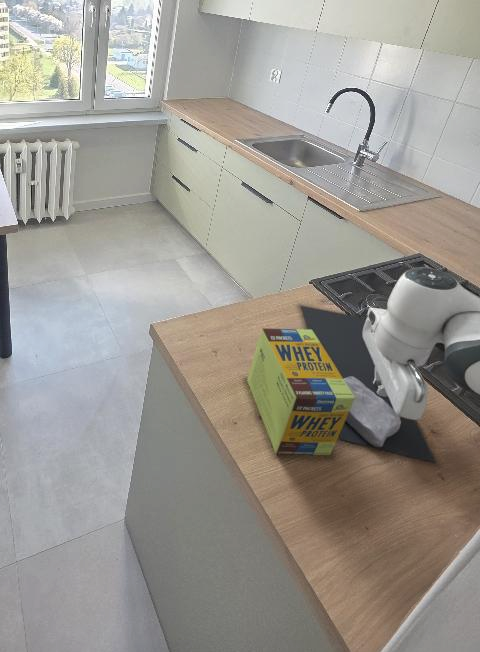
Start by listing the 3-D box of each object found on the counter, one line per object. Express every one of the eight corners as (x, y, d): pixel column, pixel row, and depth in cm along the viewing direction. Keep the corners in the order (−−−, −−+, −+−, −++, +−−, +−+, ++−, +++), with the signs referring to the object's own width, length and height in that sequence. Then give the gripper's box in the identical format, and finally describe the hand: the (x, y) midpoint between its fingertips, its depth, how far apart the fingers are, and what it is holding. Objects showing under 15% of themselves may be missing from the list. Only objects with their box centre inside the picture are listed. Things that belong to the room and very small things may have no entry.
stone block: (343, 386, 91) (316, 398, 86) (353, 369, 89) (326, 381, 84) (399, 437, 81) (373, 454, 76) (411, 420, 80) (385, 436, 75)
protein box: (275, 456, 75) (296, 398, 69) (246, 380, 89) (260, 326, 83) (332, 456, 76) (357, 398, 69) (293, 381, 90) (312, 327, 84)
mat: (366, 318, 108) (367, 318, 107) (435, 463, 75) (435, 462, 75) (300, 306, 111) (300, 305, 111) (339, 439, 79) (339, 439, 79)
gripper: (448, 393, 71) (419, 444, 76) (398, 308, 89) (378, 354, 94) (406, 384, 72) (381, 435, 77) (366, 302, 90) (348, 348, 96)
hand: (379, 390), depth 86 cm, fingers closed
